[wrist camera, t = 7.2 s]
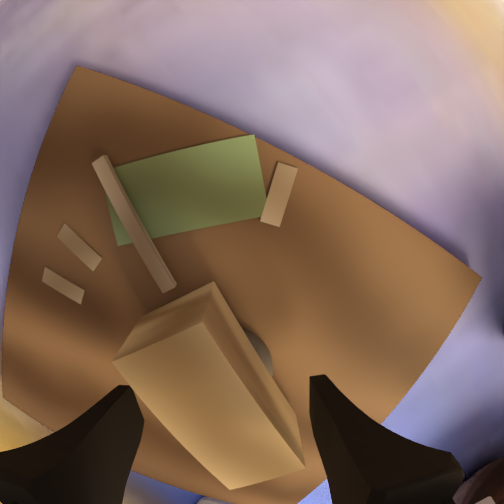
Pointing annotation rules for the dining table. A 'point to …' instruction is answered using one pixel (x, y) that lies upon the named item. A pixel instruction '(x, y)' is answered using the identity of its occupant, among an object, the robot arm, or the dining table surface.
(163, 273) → the peg key
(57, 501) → the robot arm
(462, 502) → the wooden sphere
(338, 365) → the brown flat square board
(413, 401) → the dining table surface
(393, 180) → the dining table surface
